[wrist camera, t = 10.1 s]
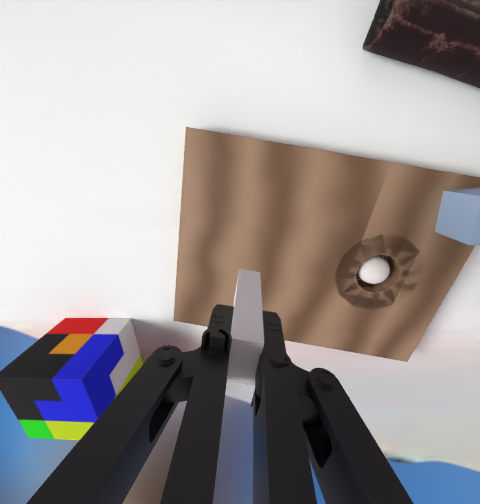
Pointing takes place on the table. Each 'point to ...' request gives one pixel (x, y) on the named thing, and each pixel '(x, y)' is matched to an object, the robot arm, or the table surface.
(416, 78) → the table surface
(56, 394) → the puzzle toy
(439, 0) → the diary
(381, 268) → the ball
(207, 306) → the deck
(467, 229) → the blue block
